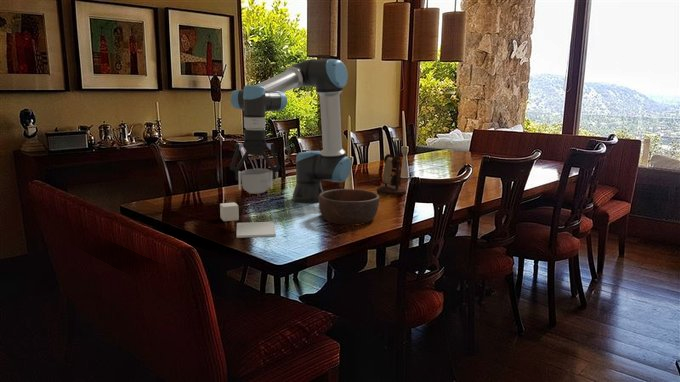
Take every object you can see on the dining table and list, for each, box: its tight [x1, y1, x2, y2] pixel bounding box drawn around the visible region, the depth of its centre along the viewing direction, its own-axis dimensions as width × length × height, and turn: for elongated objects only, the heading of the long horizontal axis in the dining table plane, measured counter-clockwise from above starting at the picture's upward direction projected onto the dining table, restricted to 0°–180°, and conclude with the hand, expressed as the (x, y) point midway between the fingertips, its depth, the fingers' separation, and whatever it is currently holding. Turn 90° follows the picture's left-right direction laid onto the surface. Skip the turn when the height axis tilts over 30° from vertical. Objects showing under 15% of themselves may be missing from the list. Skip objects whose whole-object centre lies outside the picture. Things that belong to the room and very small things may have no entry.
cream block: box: [219, 202, 240, 222], centre depth 209 cm, size 6×6×6 cm
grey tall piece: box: [376, 153, 407, 196], centre depth 258 cm, size 15×15×20 cm
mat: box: [236, 221, 277, 239], centre depth 194 cm, size 14×17×1 cm
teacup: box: [240, 167, 271, 195], centre depth 190 cm, size 14×11×8 cm
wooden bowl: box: [318, 188, 380, 226], centre depth 211 cm, size 25×25×10 cm
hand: (255, 188), depth 190 cm, fingers closed on teacup, 11 cm apart
